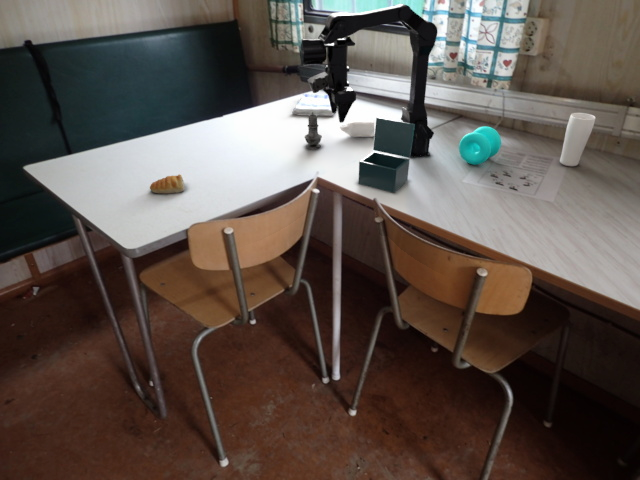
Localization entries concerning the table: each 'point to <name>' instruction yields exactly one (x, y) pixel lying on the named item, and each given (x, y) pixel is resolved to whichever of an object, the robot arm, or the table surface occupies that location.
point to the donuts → (480, 145)
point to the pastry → (168, 185)
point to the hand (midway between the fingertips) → (337, 117)
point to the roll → (359, 128)
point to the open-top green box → (383, 171)
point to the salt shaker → (313, 134)
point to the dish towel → (313, 105)
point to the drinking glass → (576, 137)
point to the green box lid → (393, 137)
